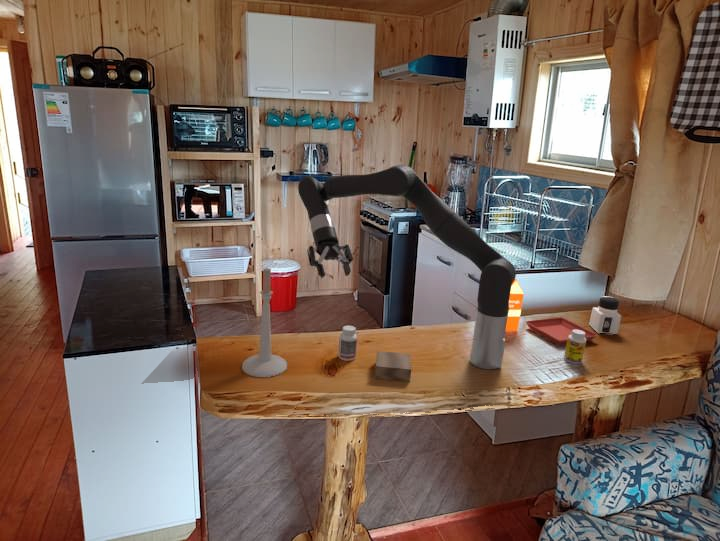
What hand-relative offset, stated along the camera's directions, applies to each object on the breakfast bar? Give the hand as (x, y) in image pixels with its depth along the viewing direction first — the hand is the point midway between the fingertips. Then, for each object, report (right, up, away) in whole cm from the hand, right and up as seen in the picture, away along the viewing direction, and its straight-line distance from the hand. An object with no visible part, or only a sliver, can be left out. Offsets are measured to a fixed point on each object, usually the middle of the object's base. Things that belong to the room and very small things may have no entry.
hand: (335, 275), depth 165 cm
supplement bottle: (+77, -28, +7) cm, 82 cm away
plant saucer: (+80, -23, +27) cm, 88 cm away
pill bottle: (+4, -25, -3) cm, 26 cm away
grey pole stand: (-20, -26, -13) cm, 35 cm away
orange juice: (+61, -20, +30) cm, 71 cm away
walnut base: (+17, -28, -10) cm, 35 cm away
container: (+100, -21, +35) cm, 108 cm away
